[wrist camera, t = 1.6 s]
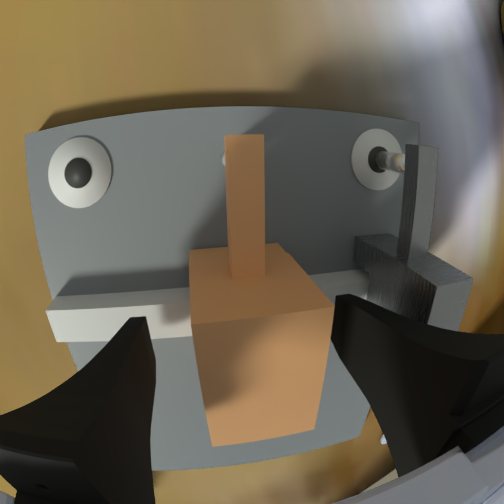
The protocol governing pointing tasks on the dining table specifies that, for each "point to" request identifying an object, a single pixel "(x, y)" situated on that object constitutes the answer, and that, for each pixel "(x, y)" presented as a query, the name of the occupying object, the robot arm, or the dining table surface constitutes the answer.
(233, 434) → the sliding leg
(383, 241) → the fixed leg
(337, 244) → the board
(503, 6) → the potato
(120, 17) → the dining table surface
